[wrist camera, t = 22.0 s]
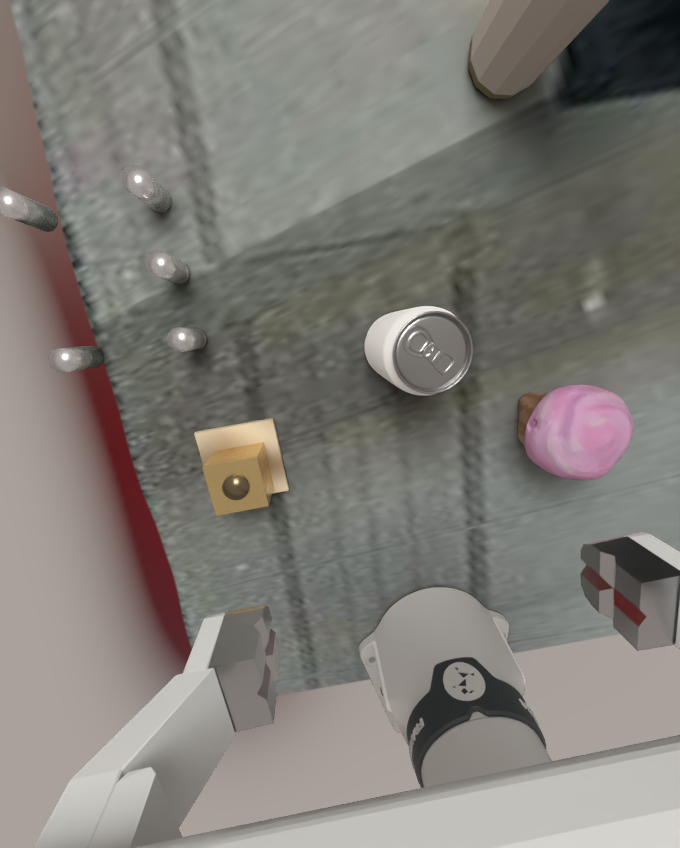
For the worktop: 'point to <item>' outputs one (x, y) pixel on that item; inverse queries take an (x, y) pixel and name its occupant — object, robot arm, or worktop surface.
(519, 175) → the worktop surface
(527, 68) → the bottle
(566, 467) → the cupcake
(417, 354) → the can
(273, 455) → the coaster
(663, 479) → the worktop surface
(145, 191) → the spacer posts
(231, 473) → the cube with brass knob
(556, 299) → the worktop surface
